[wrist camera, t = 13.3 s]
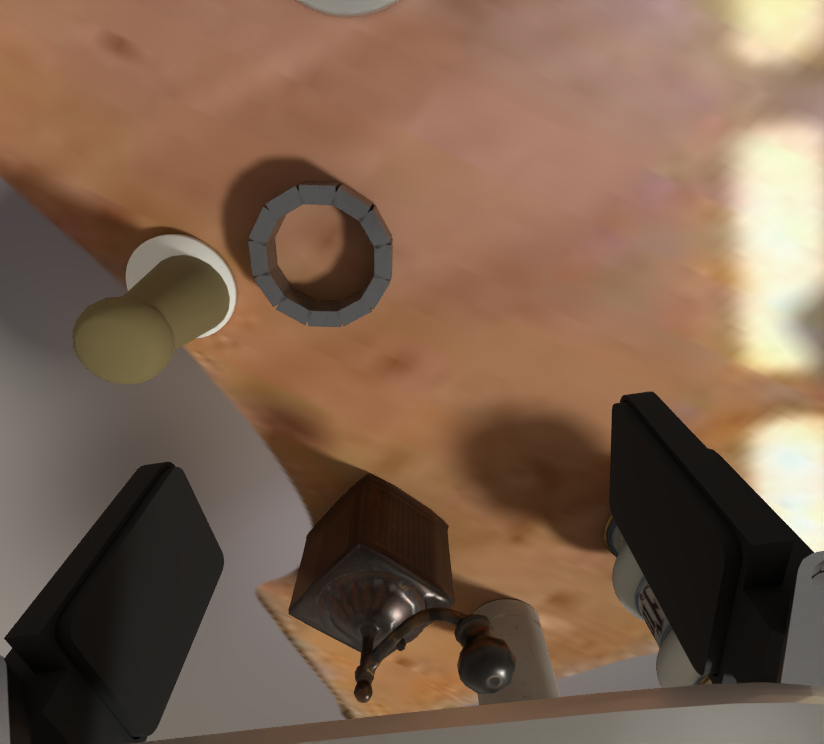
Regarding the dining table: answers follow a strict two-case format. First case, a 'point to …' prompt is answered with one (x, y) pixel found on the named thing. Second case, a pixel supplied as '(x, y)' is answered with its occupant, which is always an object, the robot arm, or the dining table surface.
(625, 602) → the apothecary jar
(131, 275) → the pebble
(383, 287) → the holder ring
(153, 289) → the cork
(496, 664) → the pepper mill
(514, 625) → the thermos bottle
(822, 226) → the dining table surface
